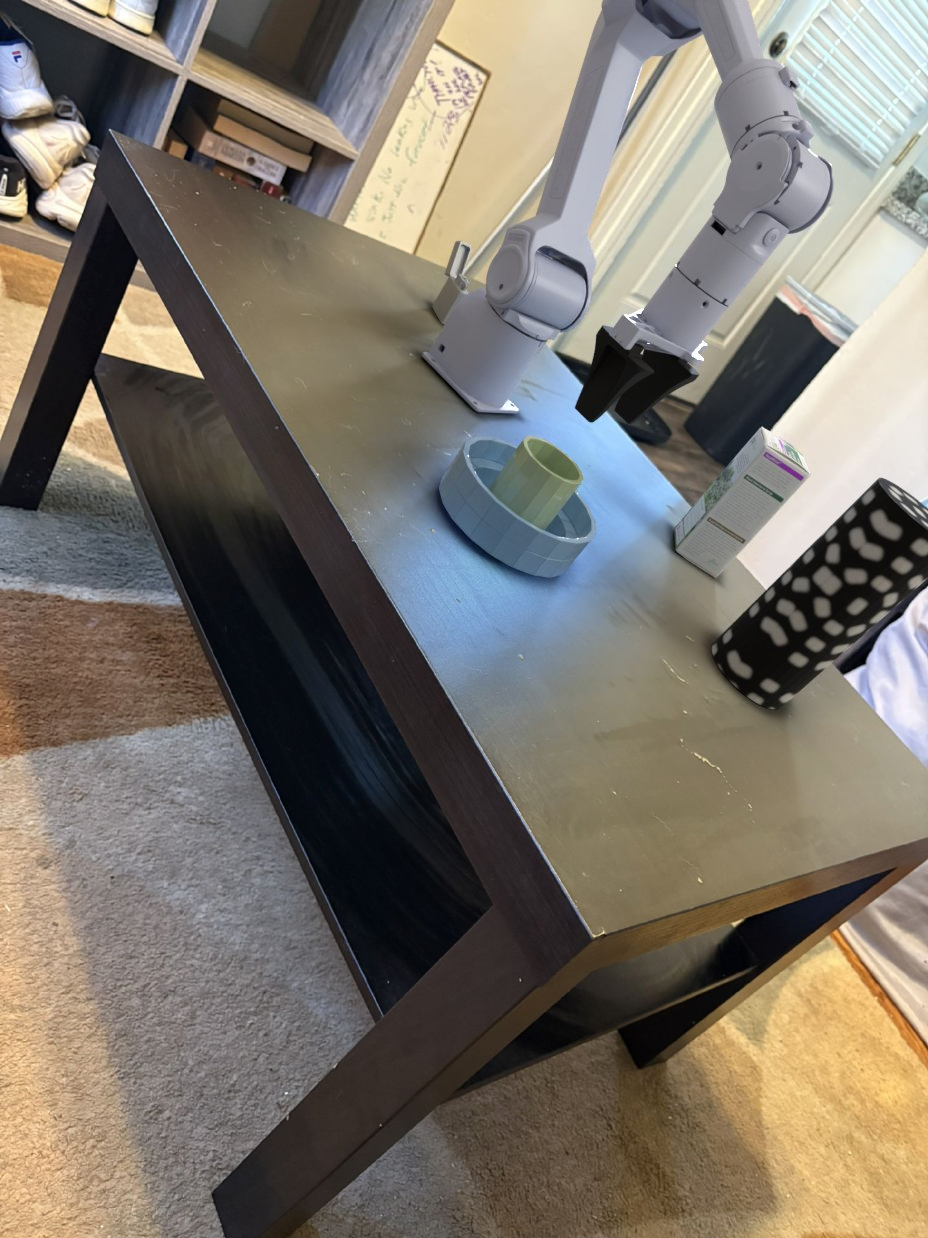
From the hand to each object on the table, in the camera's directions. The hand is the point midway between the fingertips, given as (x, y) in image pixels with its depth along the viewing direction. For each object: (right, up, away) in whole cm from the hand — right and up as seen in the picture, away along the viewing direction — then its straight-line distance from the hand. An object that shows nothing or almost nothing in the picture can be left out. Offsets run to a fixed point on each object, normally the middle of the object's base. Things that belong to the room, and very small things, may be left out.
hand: (603, 416), depth 80 cm
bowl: (-9, -11, -5) cm, 15 cm away
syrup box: (+12, -12, +15) cm, 23 cm away
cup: (-9, -10, -6) cm, 15 cm away
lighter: (-16, +19, +27) cm, 37 cm away
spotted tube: (+13, -24, +1) cm, 27 cm away
